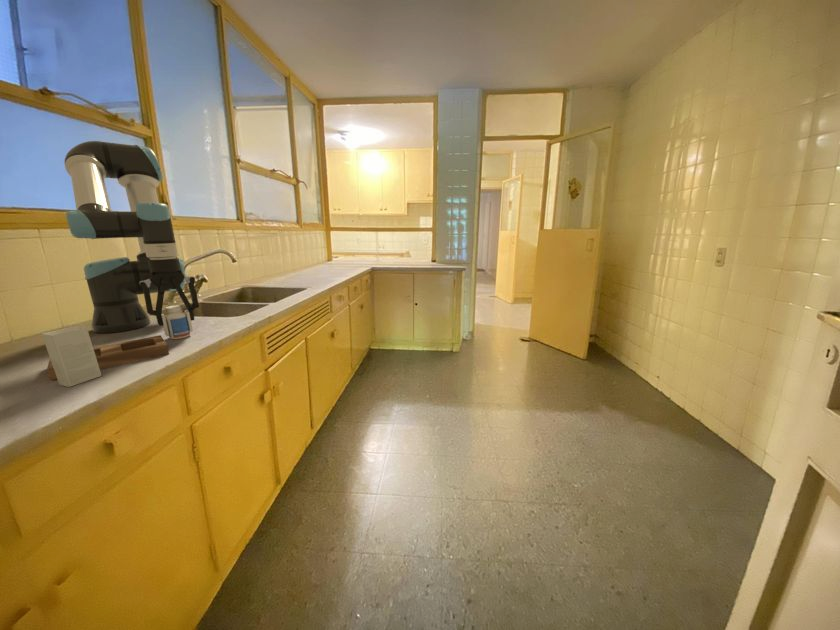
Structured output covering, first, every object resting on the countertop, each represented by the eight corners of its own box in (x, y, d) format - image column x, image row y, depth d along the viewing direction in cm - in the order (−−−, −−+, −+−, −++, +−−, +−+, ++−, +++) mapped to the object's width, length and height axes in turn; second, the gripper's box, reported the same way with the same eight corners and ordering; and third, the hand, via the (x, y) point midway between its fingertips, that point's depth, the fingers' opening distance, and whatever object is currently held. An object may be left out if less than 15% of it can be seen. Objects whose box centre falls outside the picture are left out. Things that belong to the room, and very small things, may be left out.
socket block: (54, 366, 83) (50, 355, 82) (162, 344, 98) (160, 335, 97) (50, 380, 75) (47, 368, 75) (169, 353, 90) (166, 344, 90)
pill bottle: (194, 334, 107) (188, 304, 104) (181, 339, 101) (174, 308, 99) (178, 333, 107) (172, 304, 105) (164, 339, 102) (158, 308, 99)
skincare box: (92, 373, 79) (78, 325, 76) (102, 376, 77) (88, 327, 74) (57, 384, 73) (40, 333, 70) (67, 388, 72) (50, 335, 69)
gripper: (123, 261, 89) (143, 343, 95) (202, 256, 101) (215, 329, 108) (121, 259, 94) (140, 337, 100) (196, 255, 107) (209, 324, 113)
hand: (179, 332), depth 104 cm, fingers closed on pill bottle, 5 cm apart
